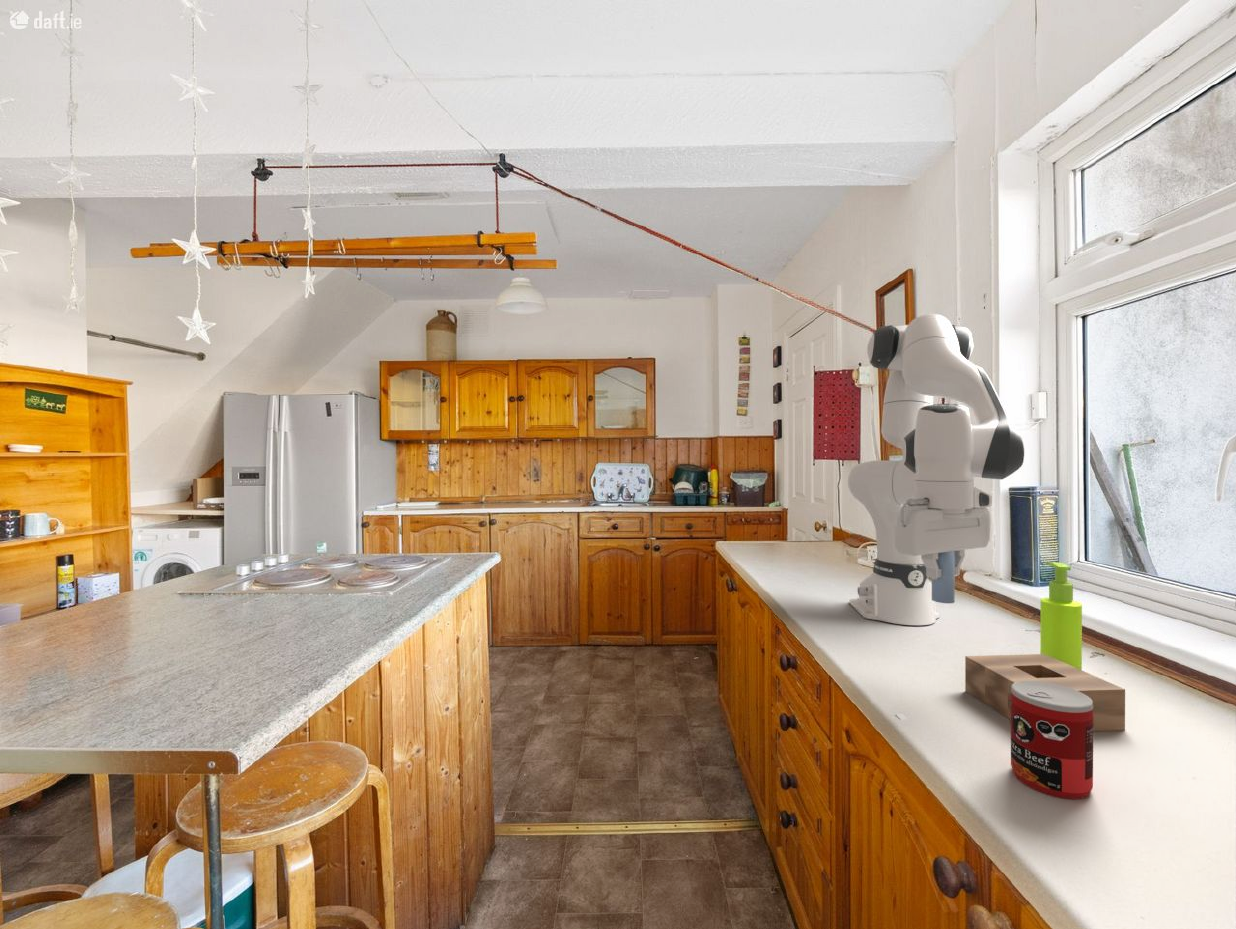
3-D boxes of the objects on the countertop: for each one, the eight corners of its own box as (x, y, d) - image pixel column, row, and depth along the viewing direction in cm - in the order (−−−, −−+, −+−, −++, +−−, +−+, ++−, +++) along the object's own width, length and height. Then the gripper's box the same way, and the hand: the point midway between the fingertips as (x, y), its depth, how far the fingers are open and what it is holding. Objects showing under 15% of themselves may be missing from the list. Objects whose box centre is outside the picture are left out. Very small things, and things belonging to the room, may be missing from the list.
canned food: (995, 765, 70) (995, 681, 69) (1052, 761, 70) (1052, 678, 70) (1047, 803, 62) (1048, 708, 62) (1111, 798, 63) (1111, 705, 63)
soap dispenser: (1069, 666, 102) (1070, 561, 101) (1088, 680, 95) (1088, 568, 95) (1032, 662, 104) (1033, 559, 103) (1048, 676, 97) (1048, 566, 97)
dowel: (929, 597, 95) (929, 535, 95) (951, 599, 94) (951, 536, 94) (934, 602, 92) (934, 538, 92) (957, 604, 91) (957, 539, 91)
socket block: (965, 691, 91) (965, 656, 91) (1044, 688, 92) (1044, 654, 92) (1032, 733, 77) (1032, 692, 77) (1124, 730, 78) (1125, 689, 78)
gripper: (919, 500, 85) (919, 587, 86) (998, 496, 94) (998, 574, 94) (885, 498, 91) (885, 579, 91) (962, 494, 100) (962, 568, 100)
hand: (943, 577), depth 93 cm, fingers closed on dowel, 3 cm apart
